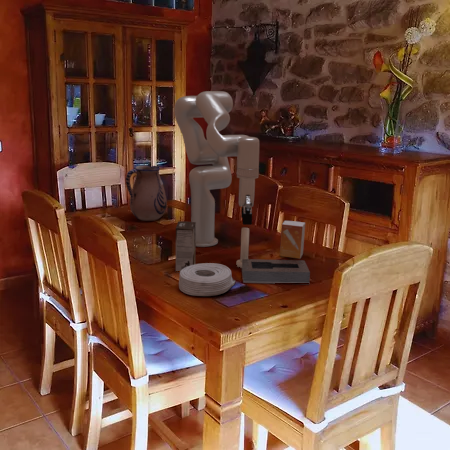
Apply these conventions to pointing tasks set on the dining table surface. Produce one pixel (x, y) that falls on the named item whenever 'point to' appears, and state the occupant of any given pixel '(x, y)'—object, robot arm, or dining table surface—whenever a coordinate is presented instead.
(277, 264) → the rail
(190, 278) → the cable
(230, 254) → the dining table surface
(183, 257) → the coffee box
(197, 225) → the robot arm
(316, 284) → the dining table surface
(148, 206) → the ceramic pitcher
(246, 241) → the peg
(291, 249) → the small box
